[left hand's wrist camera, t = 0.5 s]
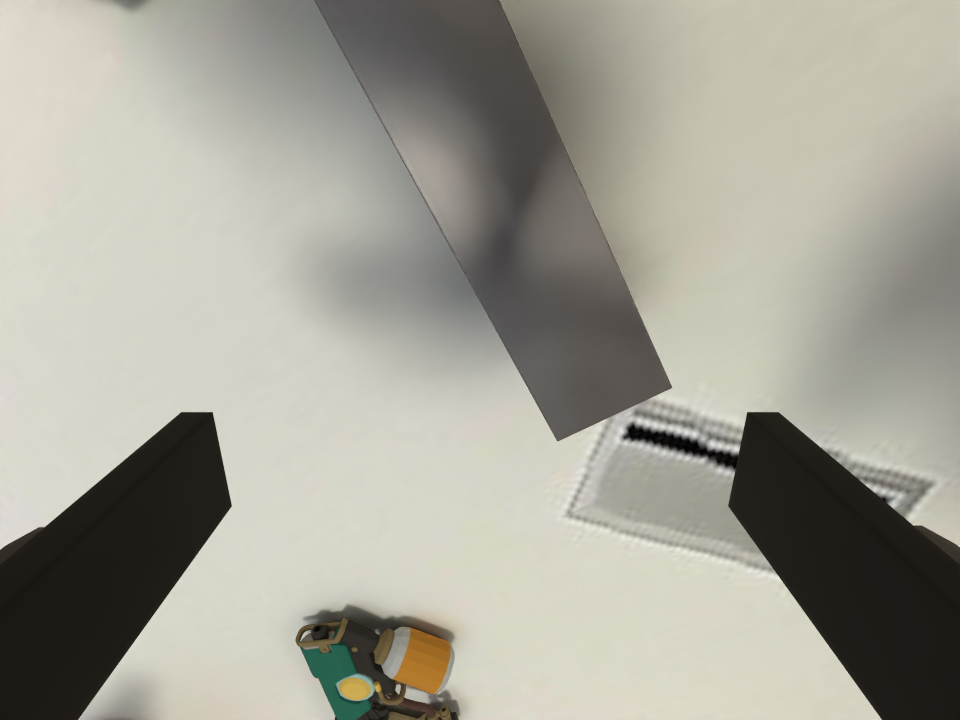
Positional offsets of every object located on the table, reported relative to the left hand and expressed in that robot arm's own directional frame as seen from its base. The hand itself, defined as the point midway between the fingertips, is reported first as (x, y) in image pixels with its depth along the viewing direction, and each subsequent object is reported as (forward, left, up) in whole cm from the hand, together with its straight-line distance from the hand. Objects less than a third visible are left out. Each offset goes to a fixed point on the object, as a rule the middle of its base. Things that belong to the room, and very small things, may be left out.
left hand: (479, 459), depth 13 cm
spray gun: (+39, +2, -25) cm, 46 cm away
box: (-7, -1, -25) cm, 26 cm away
